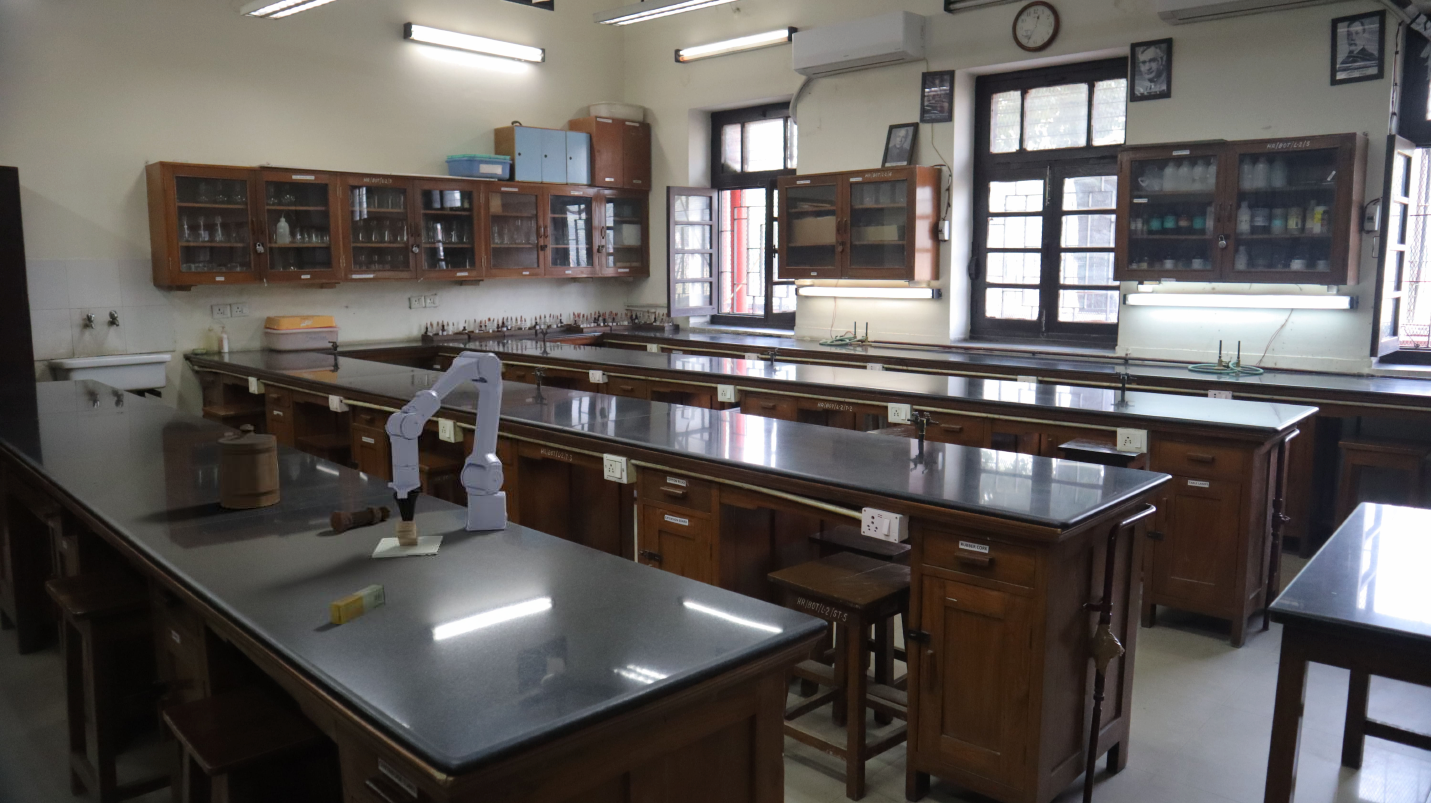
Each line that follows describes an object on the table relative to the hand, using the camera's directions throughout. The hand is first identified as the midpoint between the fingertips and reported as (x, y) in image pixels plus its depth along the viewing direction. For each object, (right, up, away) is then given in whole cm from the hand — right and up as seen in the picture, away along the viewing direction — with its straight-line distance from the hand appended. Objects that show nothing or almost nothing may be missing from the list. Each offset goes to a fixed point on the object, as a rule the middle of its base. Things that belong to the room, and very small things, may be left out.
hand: (408, 521), depth 225 cm
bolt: (-18, -4, +20) cm, 27 cm away
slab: (0, -5, +1) cm, 5 cm away
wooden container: (-57, 0, +43) cm, 71 cm away
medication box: (+4, -12, -42) cm, 44 cm away
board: (0, -6, 0) cm, 6 cm away
